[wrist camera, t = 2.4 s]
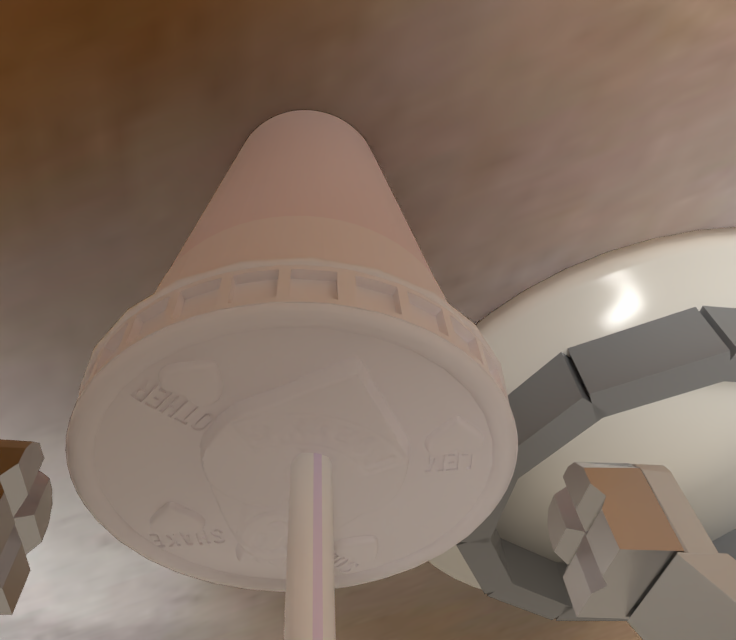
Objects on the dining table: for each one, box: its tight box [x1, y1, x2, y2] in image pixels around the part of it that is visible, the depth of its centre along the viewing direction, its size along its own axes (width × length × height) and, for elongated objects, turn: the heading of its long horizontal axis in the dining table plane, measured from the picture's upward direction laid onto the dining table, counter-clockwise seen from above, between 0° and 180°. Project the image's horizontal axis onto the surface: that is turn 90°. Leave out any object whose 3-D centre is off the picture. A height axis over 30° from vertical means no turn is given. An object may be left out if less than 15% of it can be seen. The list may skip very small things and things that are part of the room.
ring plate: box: [429, 227, 736, 621], centre depth 23 cm, size 20×20×3 cm
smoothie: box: [66, 110, 518, 640], centre depth 11 cm, size 6×6×14 cm
